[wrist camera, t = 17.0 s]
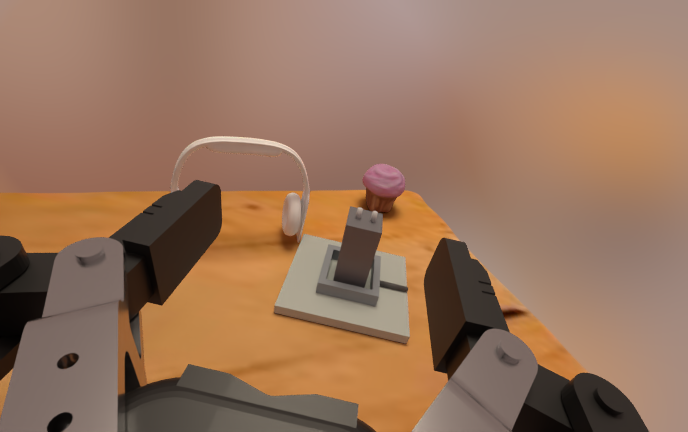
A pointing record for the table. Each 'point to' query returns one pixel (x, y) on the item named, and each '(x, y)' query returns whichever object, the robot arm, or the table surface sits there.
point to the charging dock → (346, 292)
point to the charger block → (358, 246)
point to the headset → (239, 145)
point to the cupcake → (383, 187)
